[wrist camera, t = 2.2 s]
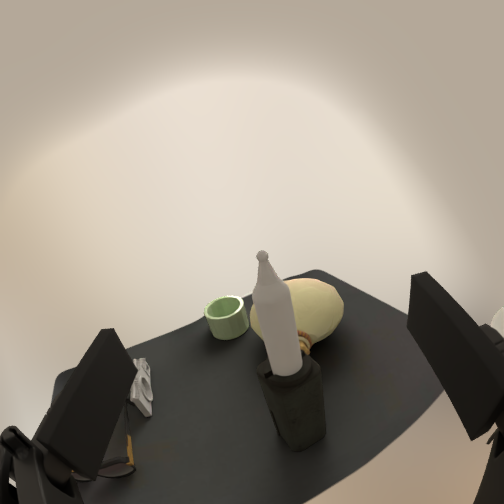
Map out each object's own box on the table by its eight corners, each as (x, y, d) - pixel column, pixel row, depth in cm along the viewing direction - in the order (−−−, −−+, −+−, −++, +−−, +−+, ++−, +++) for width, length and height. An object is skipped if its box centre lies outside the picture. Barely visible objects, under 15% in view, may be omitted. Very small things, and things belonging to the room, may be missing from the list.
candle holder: (254, 315, 56) (248, 295, 54) (241, 341, 49) (234, 319, 48) (220, 315, 59) (213, 295, 57) (205, 338, 52) (197, 318, 50)
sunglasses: (135, 403, 39) (121, 383, 37) (145, 479, 25) (125, 463, 23) (71, 419, 35) (55, 401, 33) (67, 488, 22) (45, 472, 20)
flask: (339, 302, 53) (354, 373, 37) (259, 313, 56) (249, 385, 40) (335, 261, 49) (355, 329, 33) (249, 274, 52) (233, 344, 36)
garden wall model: (143, 371, 46) (129, 347, 44) (152, 368, 46) (138, 345, 44) (144, 419, 35) (125, 396, 33) (154, 417, 36) (136, 393, 33)
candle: (273, 429, 31) (216, 255, 21) (306, 409, 33) (272, 232, 23) (295, 455, 27) (245, 276, 17) (329, 432, 28) (311, 246, 19)
